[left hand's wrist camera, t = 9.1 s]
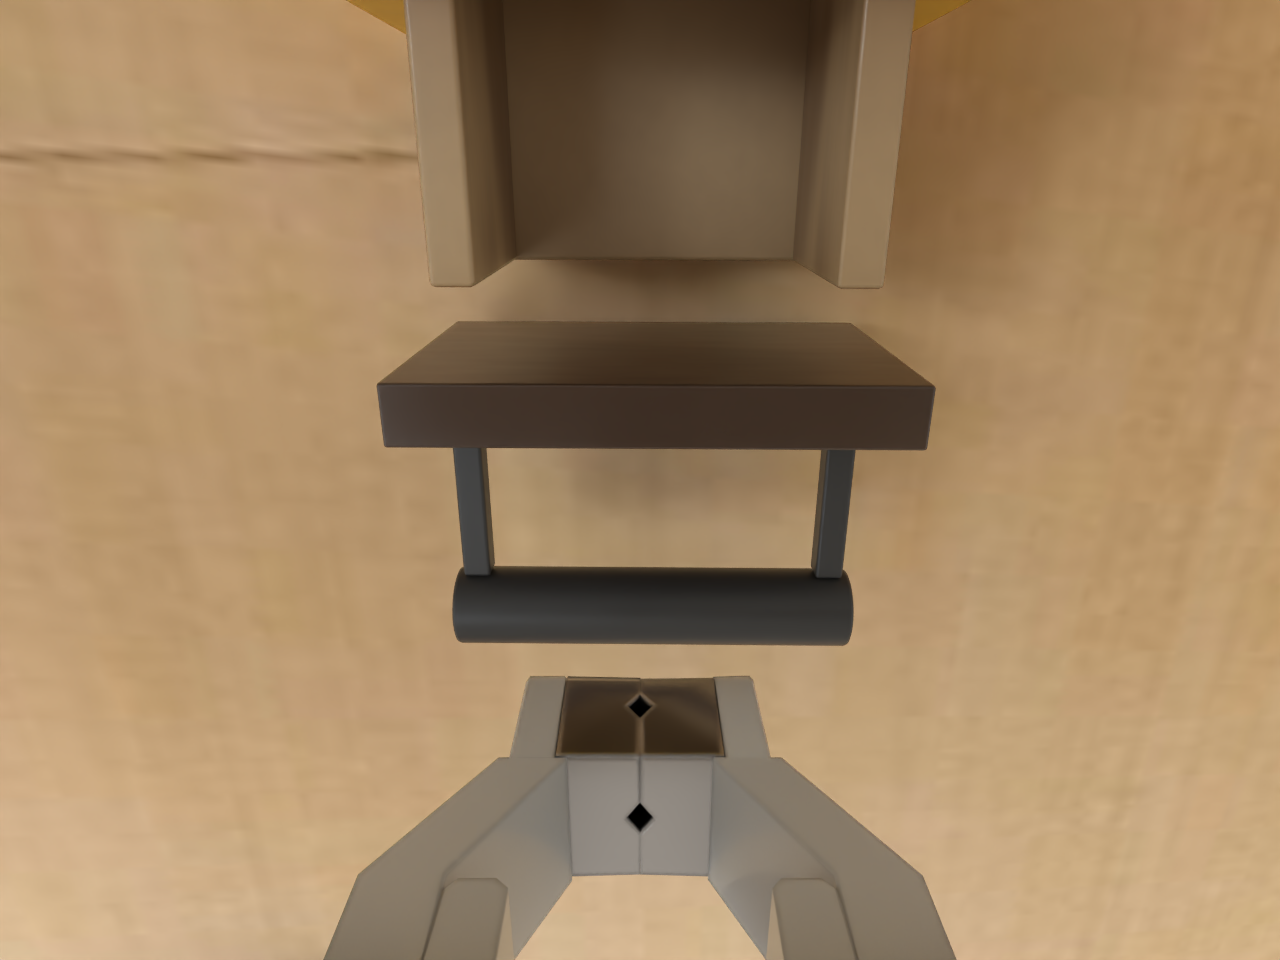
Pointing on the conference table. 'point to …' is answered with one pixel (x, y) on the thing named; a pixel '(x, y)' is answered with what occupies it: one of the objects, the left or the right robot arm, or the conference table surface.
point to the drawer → (656, 230)
